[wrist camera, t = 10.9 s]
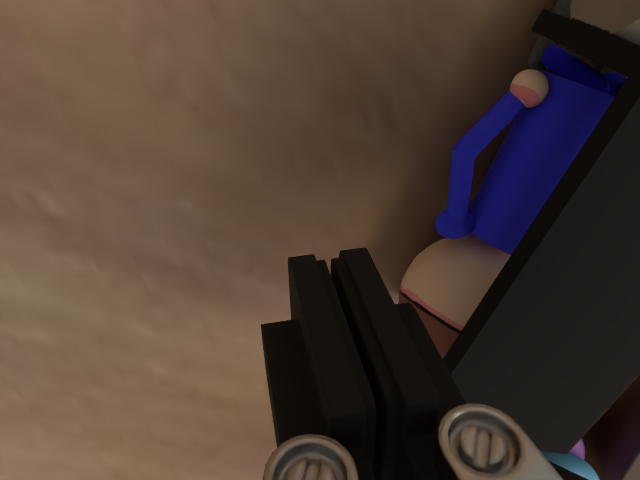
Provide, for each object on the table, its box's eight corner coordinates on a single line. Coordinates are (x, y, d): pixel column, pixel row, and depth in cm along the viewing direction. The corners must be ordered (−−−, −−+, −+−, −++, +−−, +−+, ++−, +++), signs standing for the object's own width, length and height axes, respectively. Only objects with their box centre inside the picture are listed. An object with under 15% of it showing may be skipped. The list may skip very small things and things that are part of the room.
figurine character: (529, -123, 14) (343, 302, 20) (807, -197, 8) (414, 462, 14) (686, -31, 17) (478, 327, 22) (1001, -30, 10) (594, 474, 16)
